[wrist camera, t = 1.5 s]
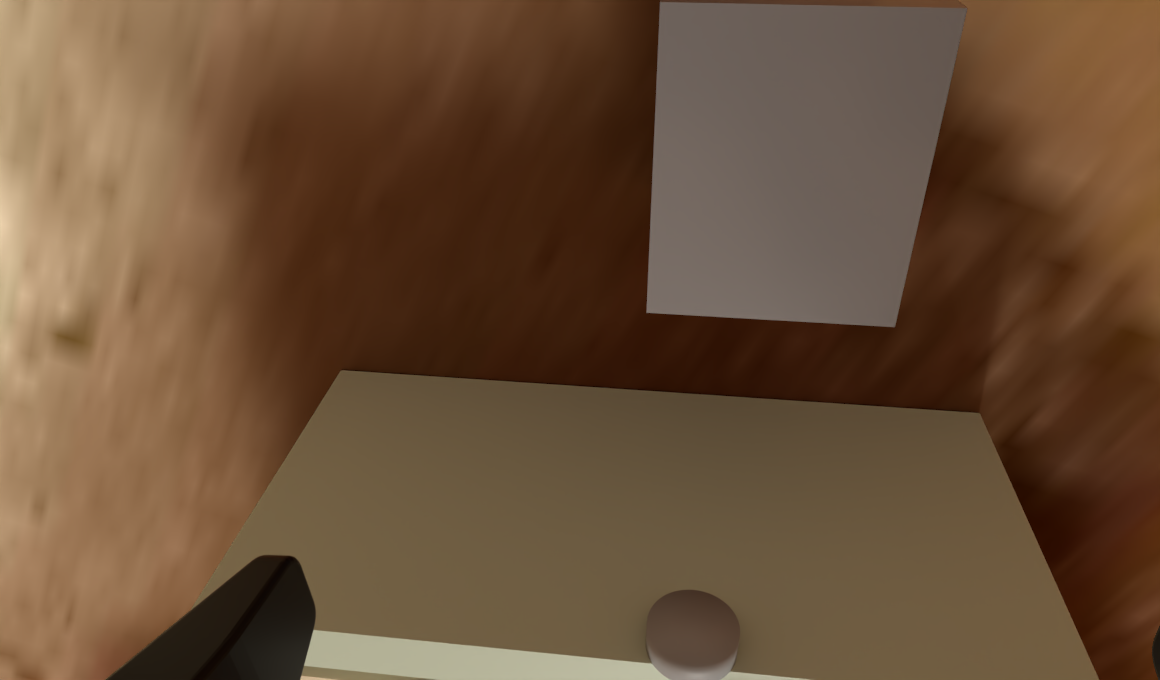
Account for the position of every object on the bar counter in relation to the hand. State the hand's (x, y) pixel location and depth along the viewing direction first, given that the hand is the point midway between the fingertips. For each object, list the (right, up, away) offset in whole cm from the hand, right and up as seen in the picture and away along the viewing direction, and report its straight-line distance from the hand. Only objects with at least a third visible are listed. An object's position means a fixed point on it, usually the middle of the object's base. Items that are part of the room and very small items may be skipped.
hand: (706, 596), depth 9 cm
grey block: (+3, +9, +10) cm, 14 cm away
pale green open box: (+1, -5, +19) cm, 20 cm away
